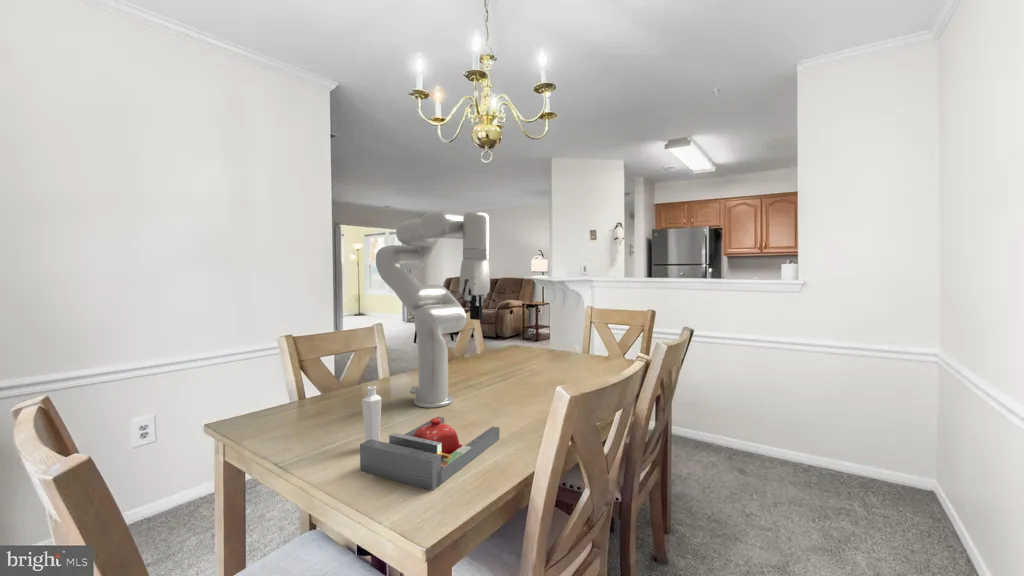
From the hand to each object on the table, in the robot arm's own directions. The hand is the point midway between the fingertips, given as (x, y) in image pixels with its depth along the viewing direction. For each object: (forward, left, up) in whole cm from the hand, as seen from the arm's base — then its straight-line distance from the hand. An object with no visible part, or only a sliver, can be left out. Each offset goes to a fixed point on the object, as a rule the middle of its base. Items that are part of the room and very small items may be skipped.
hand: (476, 319), depth 127 cm
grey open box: (+4, -26, -29) cm, 39 cm away
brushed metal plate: (+5, -34, -28) cm, 44 cm away
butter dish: (+4, -25, -29) cm, 39 cm away
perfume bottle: (-12, -30, -29) cm, 43 cm away
